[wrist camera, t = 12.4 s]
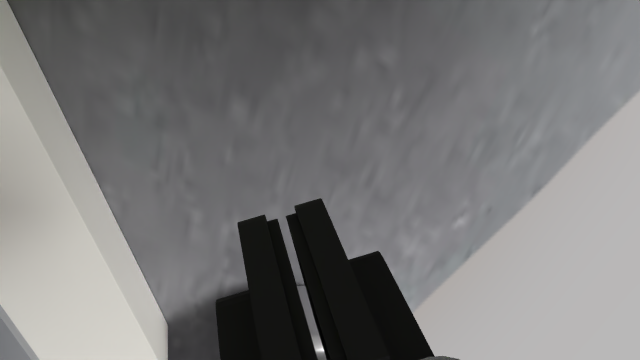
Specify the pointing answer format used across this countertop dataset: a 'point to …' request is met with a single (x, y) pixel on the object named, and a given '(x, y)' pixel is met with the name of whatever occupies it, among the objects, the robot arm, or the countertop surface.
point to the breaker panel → (60, 234)
